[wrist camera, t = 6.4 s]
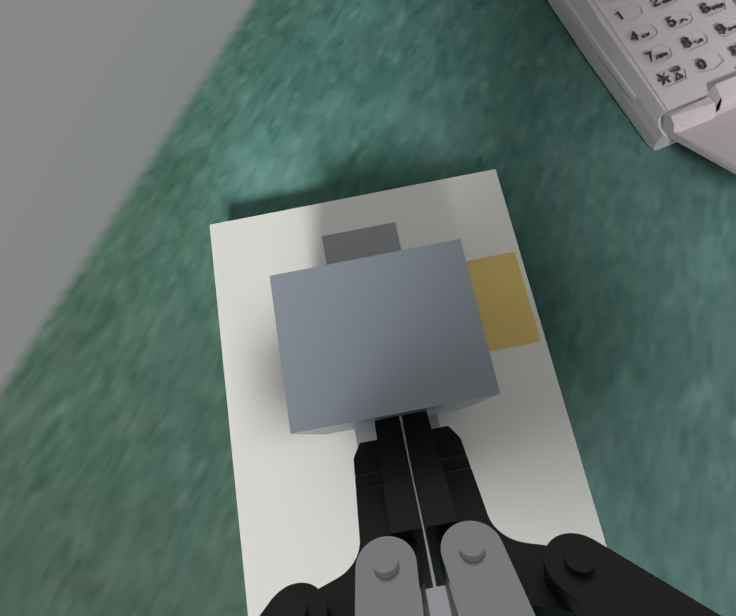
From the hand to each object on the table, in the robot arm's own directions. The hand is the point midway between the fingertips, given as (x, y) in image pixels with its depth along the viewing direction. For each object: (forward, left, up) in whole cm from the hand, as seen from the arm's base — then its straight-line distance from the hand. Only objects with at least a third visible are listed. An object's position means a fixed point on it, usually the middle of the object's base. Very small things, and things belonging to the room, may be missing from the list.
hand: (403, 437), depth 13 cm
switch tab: (0, -3, -3) cm, 4 cm away
